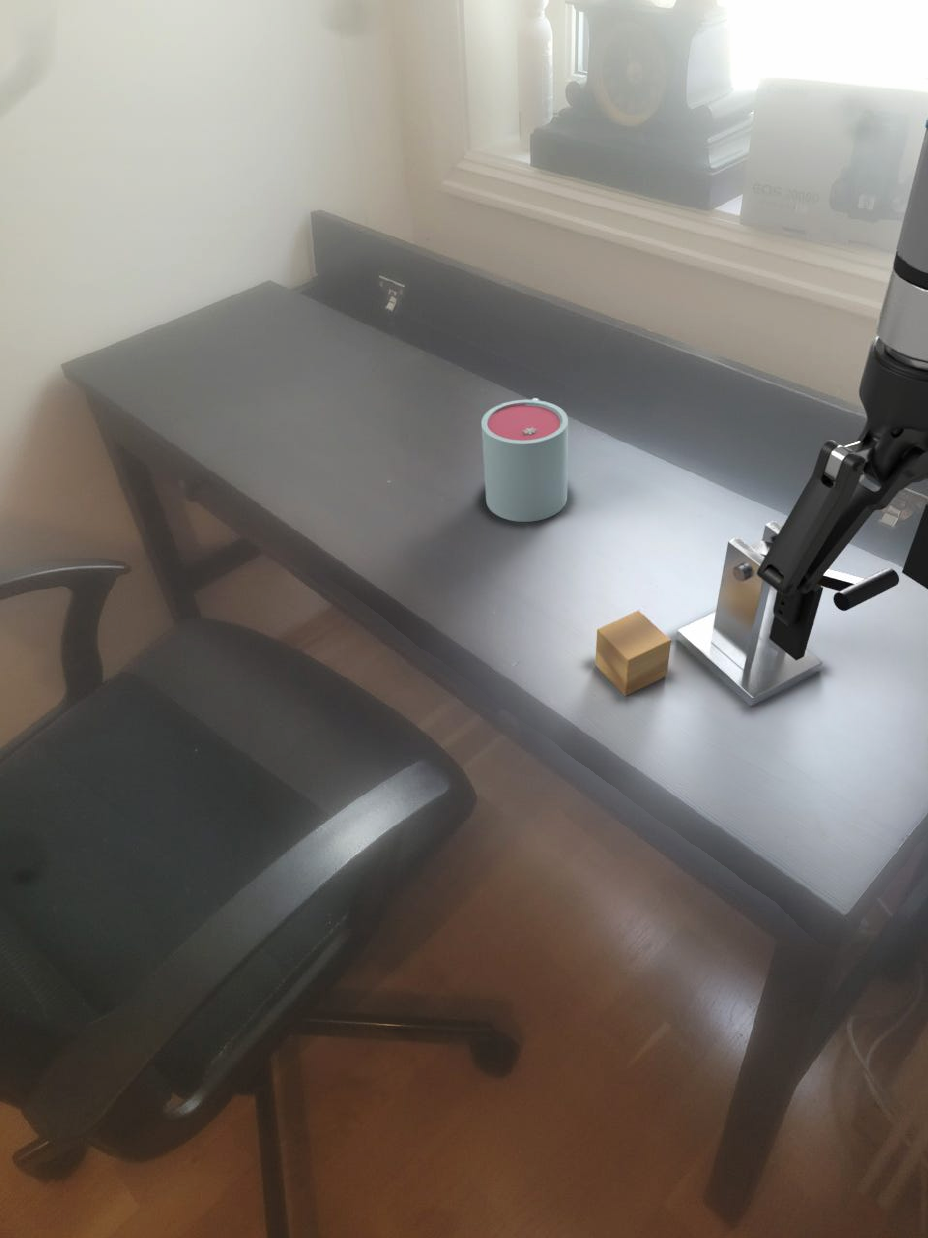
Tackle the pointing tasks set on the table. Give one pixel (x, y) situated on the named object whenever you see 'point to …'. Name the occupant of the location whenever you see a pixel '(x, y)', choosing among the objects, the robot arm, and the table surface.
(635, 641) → the block
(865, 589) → the lever
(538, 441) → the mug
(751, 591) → the bracket
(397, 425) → the table surface
